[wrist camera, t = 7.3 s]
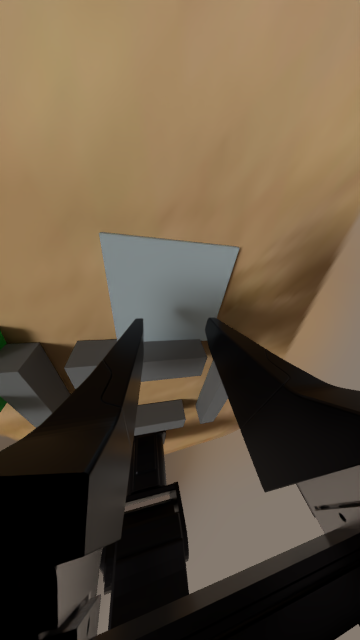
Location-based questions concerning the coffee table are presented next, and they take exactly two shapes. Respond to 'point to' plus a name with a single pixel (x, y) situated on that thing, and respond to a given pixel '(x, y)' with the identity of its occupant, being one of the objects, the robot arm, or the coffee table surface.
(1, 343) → the mechanical part
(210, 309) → the felt pad
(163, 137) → the coffee table surface
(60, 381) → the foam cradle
